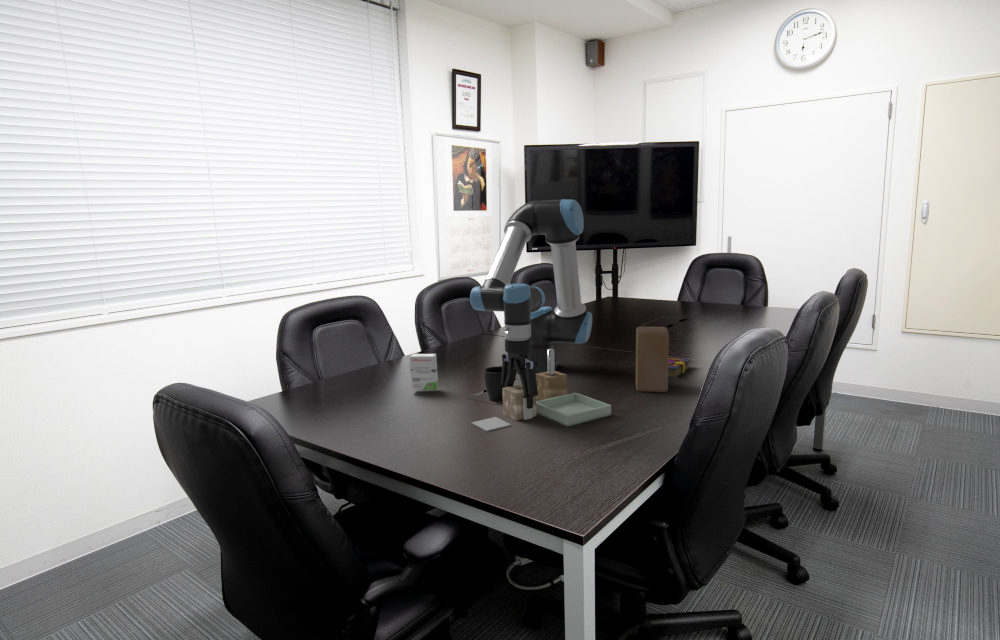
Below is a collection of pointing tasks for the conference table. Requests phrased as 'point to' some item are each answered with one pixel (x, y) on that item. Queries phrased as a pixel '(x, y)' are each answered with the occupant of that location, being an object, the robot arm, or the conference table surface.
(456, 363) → the conference table surface
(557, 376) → the oak block
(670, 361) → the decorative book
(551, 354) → the steel pin
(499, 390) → the mug
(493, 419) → the mat
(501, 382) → the robot arm
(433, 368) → the ink box
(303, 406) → the conference table surface
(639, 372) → the block
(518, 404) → the maple block
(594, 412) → the sage tray
